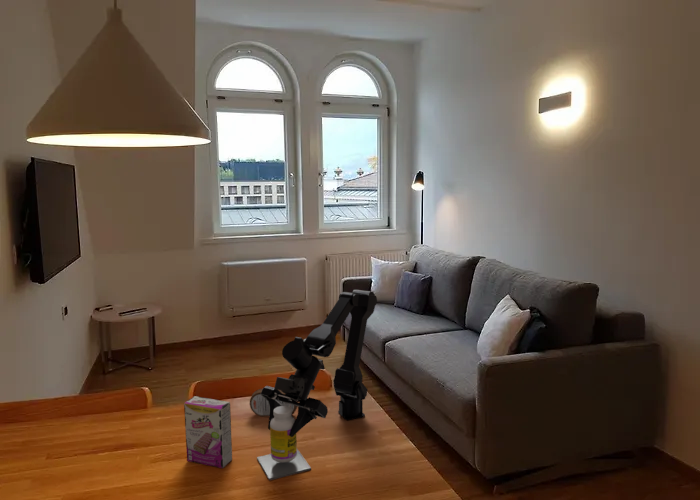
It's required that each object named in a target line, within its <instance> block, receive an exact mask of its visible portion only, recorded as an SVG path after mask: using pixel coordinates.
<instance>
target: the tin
mask: <svg viewBox="0 0 700 500" xmlns="http://www.w3.org/2000/svg"><path fill="white" fill-rule="evenodd" d="M262 389H263V388H259V389H256V390H255V391H253V393H252V395H251V397H250V399H249V408H250V410H251V412H253V413H254V414H255V415H257V416H259V417H265V418H266V417H268V418H269V415H270V405H269V402H268V401H267V400H266V399H265V398H264V397H263V396H262V395H260V393H261V391H262ZM279 391H280V392H281V393H282V394H284V395H285V393H283V392H282V391H281V390H279ZM290 401H292V400H290ZM296 402H297V401H296ZM297 403H299V402H297ZM281 406H288V407H290V408H291V409H292V415H291V416H293V415H294V414H295V412H296V411H297V410H298V406H296V405H292V404H289V403H285V402H283V403H282V404H281Z"/></svg>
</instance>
